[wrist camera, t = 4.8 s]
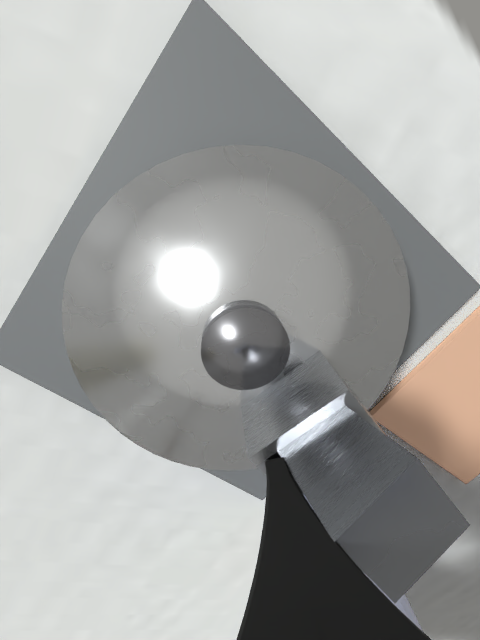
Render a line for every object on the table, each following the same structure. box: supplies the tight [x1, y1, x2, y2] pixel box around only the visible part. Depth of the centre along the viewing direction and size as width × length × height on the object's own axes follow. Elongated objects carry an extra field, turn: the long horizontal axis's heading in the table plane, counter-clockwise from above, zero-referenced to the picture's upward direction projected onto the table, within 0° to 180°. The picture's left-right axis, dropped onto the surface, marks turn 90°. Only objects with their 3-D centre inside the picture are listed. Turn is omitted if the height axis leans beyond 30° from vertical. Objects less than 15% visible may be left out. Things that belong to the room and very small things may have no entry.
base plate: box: [0, 0, 480, 500], centre depth 16 cm, size 18×18×1 cm
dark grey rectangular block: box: [277, 406, 470, 603], centre depth 11 cm, size 3×3×6 cm
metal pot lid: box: [62, 145, 410, 512], centre depth 13 cm, size 15×15×5 cm
